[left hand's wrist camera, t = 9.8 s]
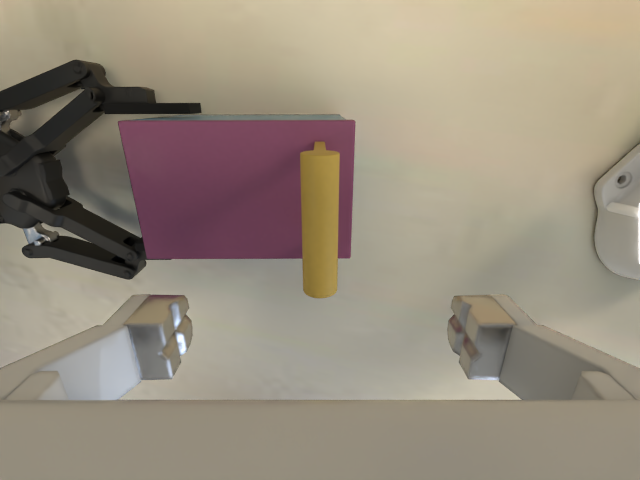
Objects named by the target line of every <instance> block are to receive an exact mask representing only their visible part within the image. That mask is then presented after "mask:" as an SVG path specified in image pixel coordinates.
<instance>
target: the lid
mask: <svg viewBox="0 0 640 480" xmlns="http://www.w3.org/2000/svg"><path fill="white" fill-rule="evenodd" d="M118 125H119V130H120V135H121V139H122V144H123V149H124V153H125V158H126V163H127V167H128V172H129V177H130V181H131V186H132V191H133V195H134V200H135V205H136V209H137V214H138V219H139V223H140V228H141V233H142V237H143V242H144V247H145V251H146V256H147V259H296V258H303V290H304V293H305V294H306V295H308V296H310V297H313V298H327V297H330V296H332V295H334V294H335V293H336V291H337V265H338V258H350V257H351V230H352V202H353V174H354V145H355V121H354V120H125V121H118Z"/></svg>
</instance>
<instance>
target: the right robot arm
mask: <svg viewBox="0 0 640 480" xmlns="http://www.w3.org/2000/svg"><path fill="white" fill-rule="evenodd" d="M105 73H106V72H105V69H104V68H103V66H101V65H100V64H97V63H92V62H86V61H80V60H73V61H70V62H68V63H66V64H63V65H61V66H59V67H56V68H54V69H52V70H49V71H47V72H45V73H42V74H40V75H38V76H35V77H33V78H31V79H28V80H26V81H24V82H21V83H19V84H17V85H14V86H12V87H10V88H7V89H5V90H3V91H0V223H8V224H12V225H14V226H17V227H19V228H23V230H24V233H25V235H26V238H27V241H28V243H29V244H28V245H26V246H24V247H23V248H22V253H23V254H24V255H25V256H26V257H28V258H52V259H56V260H59V261H63V262H67V263H70V264H74V265H77V266H81V267H85V268H88V269H92V270H95V271H99V272H102V273H106V274H110V275H113V276H117V277H120V278H124V279H132V278H133V277H134V276H136V275H137V274H138V273H139V272H140V271H141V270H142V269H143V268H144V267H145V266H146V261H145V260H164V259H147V256H146V251H145V247H144V242H143V237H142V238H139V237H137V236H136V235H134V234H132V233H130V232H128V231H126V230H124V229H122V228H120V227H118V226H116V225H115V224H113V223H111V222H109V221H107V220H105V219H103V218H101V217H99V216H97V215H96V214H94V213H92V212H90V211H88V210H86V209H84V208H83V205H82V204H81V203H79V202H77V201H75V200H73V199H71V198H70V197H68V196H67V195H70V194H69V191H68V187H67V185H66V183H65V181H64V180H63V178H62V166H61V163H60V160H56V158H55V157H54V156H55V155H56V154H57V153H58V152H60V151H61V150H62V149H63V148H64V147H66V143H67V142H69V141H70V140H71V139H72V138H74V137H75V136H76V135H77V134H79V133H80V132H81V131H82V130H83V129H85V128H86V127H87V126H88V125H90V124H91V123H92V122H93V121H95V120H96V119H97V118H98V117H99V116H101V115H102V114H103V113H104V112H105V114H193V113H201V106H200V103H156V100H155V94H154V90H152V89H149V88H145V87H113V86H112V85H110V84H109V82H108V81H107V79H106V77H105ZM78 89H85V90H84V91H83V92H82V93H81V94H79V95H78V96H77V97H76V98H75V99H73V100H72V101H71V102H70V103H69V104H68V105H66V106H65V107H64V108H63V109H62V110H60V111H59V112H58V113H57V114H56V115H55V116H53V117H52V118H51V119H50V120H49V121H47V122H46V123H45V124H44V125H43V126H42V127H40V128H39V129H38V130H37V131H36V132H34V133H33V134H32V135H29V136H27V137H24V136H23V135H21V134H19V133H18V132H16V131H14V130H12V129H10V123H11V122H12V121H14V120H17V119H18V117H19V116H21V115H22V112H21V111H20V110H27V109H32V108H35V107H37V106H40V105H42V104H44V103H47V102H49V101H52V100H54V99H56V98H59V97H61V96H64V95H66V94H69V93H71V92H73V91H76V90H78ZM59 208H60V209H59ZM43 222H44V223H46V224H48V225H50V226H53V227H61V228H64V229H66V230H68V231H70V232H72V233H74V234H76V235H77V236H79V237H81V238H83V239H85V240H87V241H89V242H87V241H83V240H80V239H76V238H72V237H68V236H59V233H58V232H57V231H54V232H52V231H48V230H46V229H44V228H43V227H42V225H41V223H43ZM90 242H91V243H90ZM165 260H171V259H165Z"/></svg>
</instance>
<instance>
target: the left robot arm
mask: <svg viewBox="0 0 640 480" xmlns="http://www.w3.org/2000/svg"><path fill="white" fill-rule="evenodd" d="M619 177H620V180H619V181H618V178H619ZM594 196H595V201H596V205H597V208H598V217H597V222H596V227H595V234H594V241H595V248H596V251H597V254H598V256H599V258H600V260H601V262H602V263H603V264H604V265H605V266H606V267H607V268H608V269H609V270H611V271H612V272H614V273H616V274H618V275H620V276H623V277H627V278H632V279H636V280H640V143H639V144H638V145H637V146H636V147H635V148H634V149H632V150H631V151H630V152H629V153H628V154H627V155H626V156H625V157H624V158H622V159H621V160H620V161H619V162H618V163H617V164H616V165H615V166H614V167H612V168H611V169H610V170H609V171H608V172H607V173H606V174H605V175H604V176H602V177H601V178H600V179H599V180H598V182H597V183H596V185H595V187H594ZM188 309H189V304H188V300H187V298H186V297H185V296H184V295H133V296H131V297H130V298H129V299H128V300H127V301H126V302H125V303H124V304H123V305H122V306H121V307H120V308H119V309H118V310H117V311H116V312H115V313H114V314H113V315H112V316H111V317H110V318H109V319H108V320H107V321H106V322H105V323H104V324H103V325H97V326H95V327H92V328H90V329H88V330H85V331H83V332H81V333H79V334H76V335H74V336H72V337H70V338H67V339H65V340H63V341H61V342H58V343H56V344H54V345H52V346H49V347H47V348H45V349H43V350H40V351H38V352H36V353H34V354H31V355H29V356H27V357H25V358H22V359H20V360H18V361H16V362H13V363H11V364H9V365H7V366H4V367H2V368H0V480H640V368H638V367H635V366H633V365H631V364H629V363H626V362H624V361H622V360H620V359H617V358H615V357H613V356H611V355H608V354H606V353H604V352H602V351H599V350H597V349H595V348H593V347H590V346H588V345H586V344H584V343H581V342H579V341H577V340H575V339H572V338H570V337H568V336H566V335H563V334H561V333H559V332H557V331H554V330H552V329H550V328H548V327H545V326H543V325H537V324H536V323H535V322H534V321H533V320H532V319H531V318H530V317H529V316H528V315H527V314H526V313H525V312H524V311H523V310H522V309H521V308H520V307H519V306H518V305H517V304H516V303H515V302H514V301H513V300H512V299H511V298H510V297H509V296H507V295H504V294H501V295H468V296H454V298H453V300H452V304H451V309H452V311H453V312H454V315H453V316H452V317H451V318H450V320H449V321H448V329H447V331H448V340H449V343H450V346H451V348H452V350H453V352H455V353H456V354H458V355H459V356H460V359H459V363H460V365H461V367H462V369H463V370H464V372H465V374H466V376H467V378H468V379H482V380H499V382H500V383H502V384H503V385H504V386H505V387H507V388H508V389H509V390H510V391H512V392H513V393H514V394H516V395H517V396H518V397H519V398H521V399H522V400H118V399H119V398H121V397H122V396H123V395H125V394H126V393H127V392H128V391H130V390H131V389H132V388H133V387H135V386H136V385H137V384H139V383H140V382H141V380H157V379H172V378H173V376H174V374H175V372H176V370H177V369H178V367H179V365H180V363H181V359H180V356H181V355H182V354H184V353H185V352H187V350H188V348H189V346H190V344H191V339H192V321H191V320H190V319H189V317H188V316H187V315H186V312H187V311H188Z"/></svg>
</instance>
